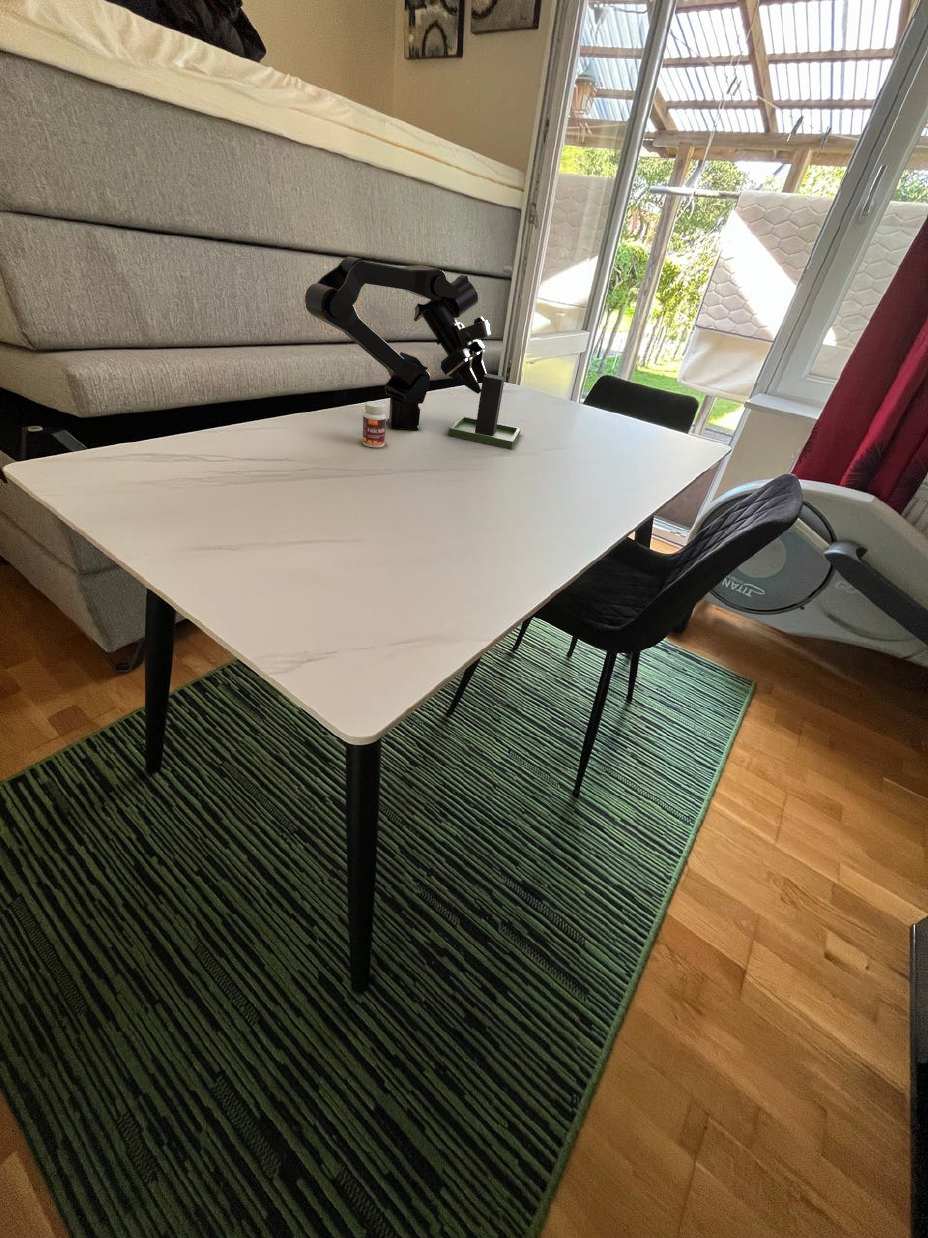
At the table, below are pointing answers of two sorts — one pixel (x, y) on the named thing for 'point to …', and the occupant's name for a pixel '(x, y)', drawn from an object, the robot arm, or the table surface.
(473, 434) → the shallow green tray
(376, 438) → the pill bottle
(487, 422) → the tall black pillar
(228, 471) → the table surface
